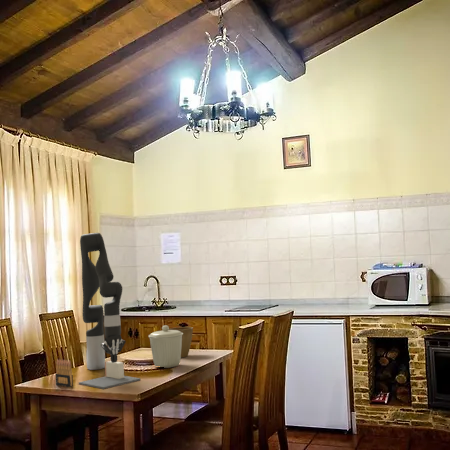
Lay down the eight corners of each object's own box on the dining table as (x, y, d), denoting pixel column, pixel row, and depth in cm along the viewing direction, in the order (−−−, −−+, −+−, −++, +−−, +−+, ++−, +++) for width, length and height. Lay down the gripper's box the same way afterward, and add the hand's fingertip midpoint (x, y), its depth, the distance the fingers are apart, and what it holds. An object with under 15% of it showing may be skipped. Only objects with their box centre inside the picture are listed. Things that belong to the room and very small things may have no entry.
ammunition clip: (73, 386, 249) (72, 359, 250) (69, 387, 248) (68, 360, 249) (59, 384, 256) (58, 358, 257) (55, 385, 254) (54, 358, 255)
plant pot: (196, 357, 308) (195, 328, 309) (170, 359, 305) (168, 330, 306) (192, 353, 323) (190, 325, 324) (166, 355, 319) (165, 328, 320)
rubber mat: (78, 384, 253) (78, 382, 253) (115, 375, 268) (115, 374, 268) (103, 389, 240) (103, 387, 240) (140, 380, 254) (140, 378, 254)
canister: (179, 369, 275) (177, 327, 276) (144, 370, 278) (142, 328, 280) (188, 362, 292) (186, 322, 294) (156, 363, 296) (154, 323, 297)
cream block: (118, 363, 256) (104, 361, 264) (118, 378, 256) (105, 376, 264) (123, 362, 259) (110, 360, 266) (124, 377, 258) (110, 375, 266)
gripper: (105, 326, 250) (106, 365, 249) (128, 323, 260) (130, 360, 258) (95, 326, 255) (97, 364, 254) (119, 322, 265) (121, 359, 264)
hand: (114, 362), depth 256 cm, fingers closed
